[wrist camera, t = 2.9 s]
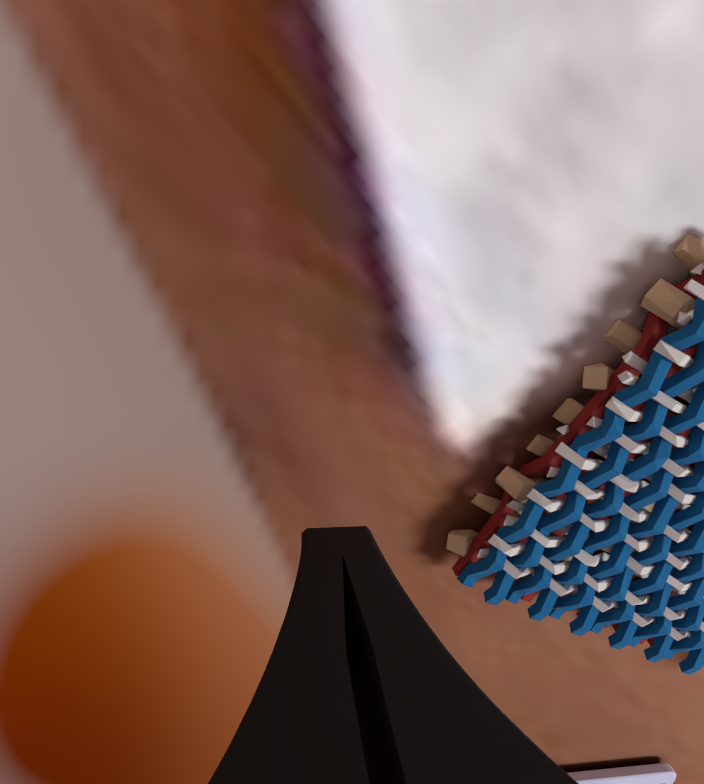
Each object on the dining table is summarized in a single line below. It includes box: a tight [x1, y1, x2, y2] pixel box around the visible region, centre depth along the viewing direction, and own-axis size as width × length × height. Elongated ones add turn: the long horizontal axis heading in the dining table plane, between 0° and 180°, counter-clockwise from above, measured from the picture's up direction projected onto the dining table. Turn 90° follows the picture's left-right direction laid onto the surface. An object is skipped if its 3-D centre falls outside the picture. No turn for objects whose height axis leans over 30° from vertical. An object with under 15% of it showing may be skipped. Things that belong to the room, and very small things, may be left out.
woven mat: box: [446, 234, 704, 675], centre depth 15 cm, size 10×11×2 cm
